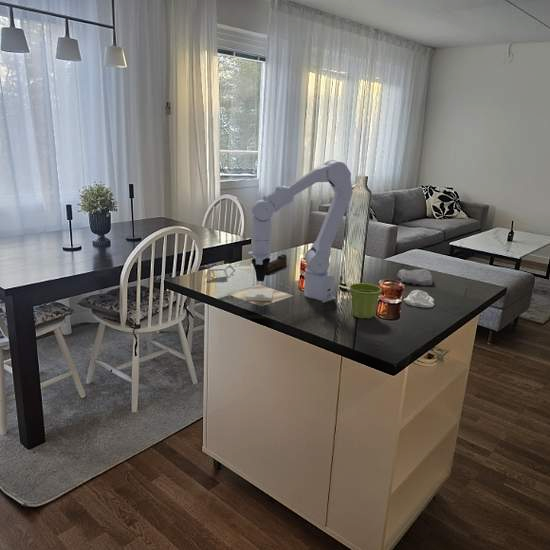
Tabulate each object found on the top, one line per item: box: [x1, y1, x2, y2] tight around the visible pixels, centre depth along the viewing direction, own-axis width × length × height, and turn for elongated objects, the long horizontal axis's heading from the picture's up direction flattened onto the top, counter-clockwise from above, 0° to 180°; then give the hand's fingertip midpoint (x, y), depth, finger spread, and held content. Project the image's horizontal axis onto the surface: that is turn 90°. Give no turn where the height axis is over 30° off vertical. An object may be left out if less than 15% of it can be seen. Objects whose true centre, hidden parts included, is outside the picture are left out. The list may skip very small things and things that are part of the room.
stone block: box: [397, 268, 433, 286], centre depth 180 cm, size 12×5×10 cm
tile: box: [246, 289, 273, 301], centre depth 154 cm, size 8×1×8 cm
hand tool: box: [265, 254, 288, 275], centre depth 190 cm, size 19×4×5 cm, turn 149°
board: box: [226, 284, 294, 307], centre depth 156 cm, size 16×15×1 cm
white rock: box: [403, 289, 435, 309], centre depth 156 cm, size 10×4×10 cm
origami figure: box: [204, 264, 236, 280], centre depth 174 cm, size 12×8×5 cm
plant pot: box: [348, 282, 383, 319], centre depth 143 cm, size 9×9×9 cm
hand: (260, 280), depth 154 cm, fingers closed
